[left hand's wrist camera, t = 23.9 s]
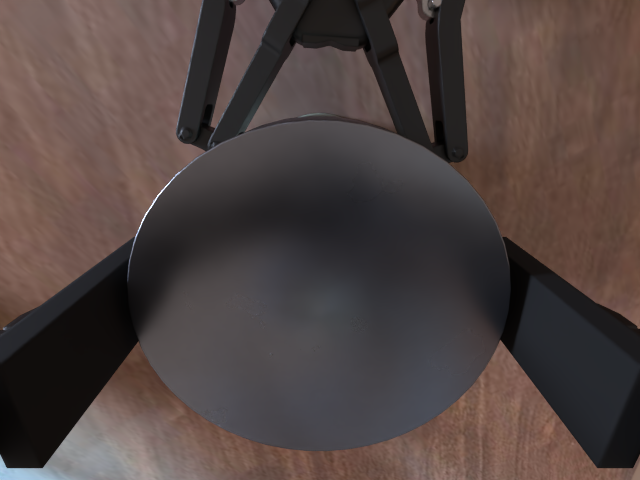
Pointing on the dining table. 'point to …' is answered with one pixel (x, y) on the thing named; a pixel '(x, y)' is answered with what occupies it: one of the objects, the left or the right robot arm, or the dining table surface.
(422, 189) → the lid
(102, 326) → the left robot arm
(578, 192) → the dining table surface
